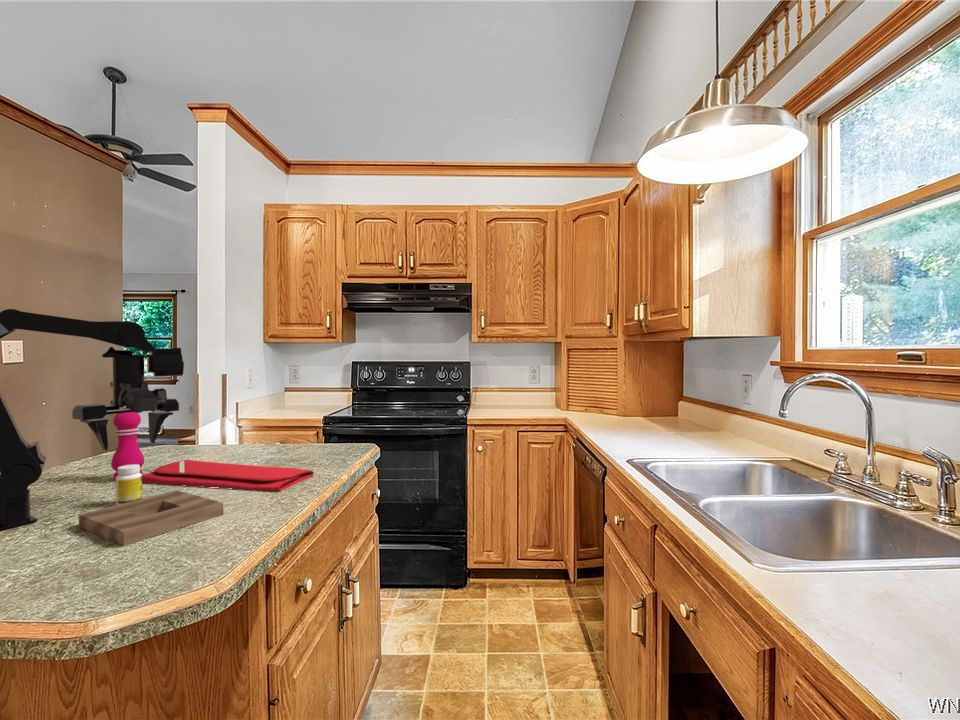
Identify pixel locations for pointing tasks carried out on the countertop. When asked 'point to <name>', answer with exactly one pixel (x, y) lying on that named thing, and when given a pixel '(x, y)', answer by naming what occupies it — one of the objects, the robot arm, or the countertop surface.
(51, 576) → the countertop surface
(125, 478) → the supplement bottle
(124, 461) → the pepper mill
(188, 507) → the socket board
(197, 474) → the red folded cloth
